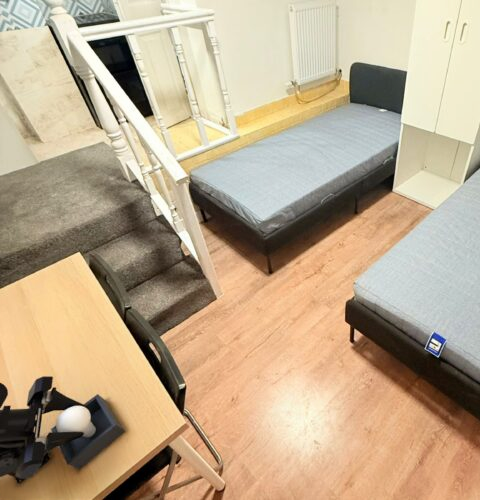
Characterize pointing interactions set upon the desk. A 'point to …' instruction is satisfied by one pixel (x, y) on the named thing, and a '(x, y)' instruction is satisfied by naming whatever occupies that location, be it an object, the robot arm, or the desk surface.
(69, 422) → the lightbulb
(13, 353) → the desk surface
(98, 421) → the bin
